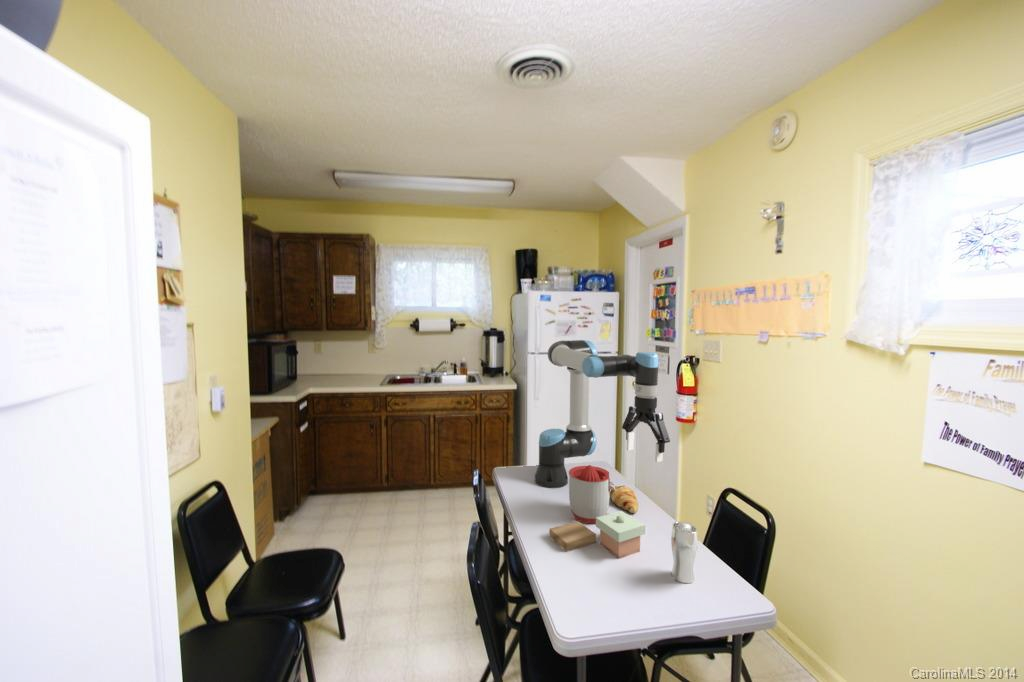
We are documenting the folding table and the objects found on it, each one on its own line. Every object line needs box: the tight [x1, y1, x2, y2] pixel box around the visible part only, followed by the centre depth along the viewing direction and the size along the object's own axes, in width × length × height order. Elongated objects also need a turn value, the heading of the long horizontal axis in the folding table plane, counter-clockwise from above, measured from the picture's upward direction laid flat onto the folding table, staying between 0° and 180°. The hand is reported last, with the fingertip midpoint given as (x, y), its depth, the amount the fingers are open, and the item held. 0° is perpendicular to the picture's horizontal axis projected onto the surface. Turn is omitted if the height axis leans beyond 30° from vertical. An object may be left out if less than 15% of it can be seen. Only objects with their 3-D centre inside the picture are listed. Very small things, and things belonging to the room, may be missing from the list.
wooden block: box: [548, 520, 597, 552], centre depth 140 cm, size 10×12×3 cm
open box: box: [599, 529, 641, 560], centre depth 136 cm, size 9×9×6 cm
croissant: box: [610, 485, 639, 514], centre depth 168 cm, size 21×10×8 cm, turn 11°
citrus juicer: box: [568, 464, 616, 524], centre depth 156 cm, size 16×17×20 cm
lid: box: [595, 510, 646, 542], centre depth 135 cm, size 11×11×4 cm
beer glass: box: [670, 521, 698, 584], centre depth 120 cm, size 7×7×15 cm
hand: (644, 455), depth 147 cm, fingers open, 13 cm apart
